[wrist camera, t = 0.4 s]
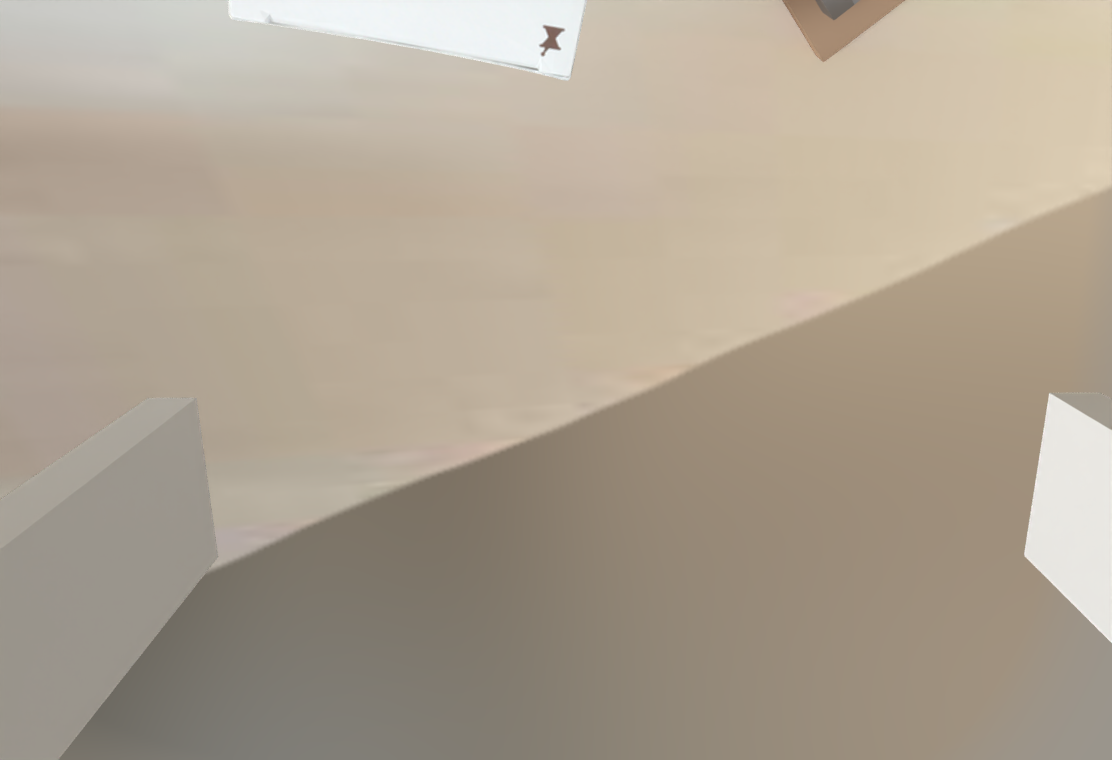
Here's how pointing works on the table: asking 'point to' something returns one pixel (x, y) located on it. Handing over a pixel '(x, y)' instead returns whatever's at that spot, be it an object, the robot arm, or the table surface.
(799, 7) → the carrier plate
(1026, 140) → the table surface
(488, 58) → the supplement box
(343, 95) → the table surface
